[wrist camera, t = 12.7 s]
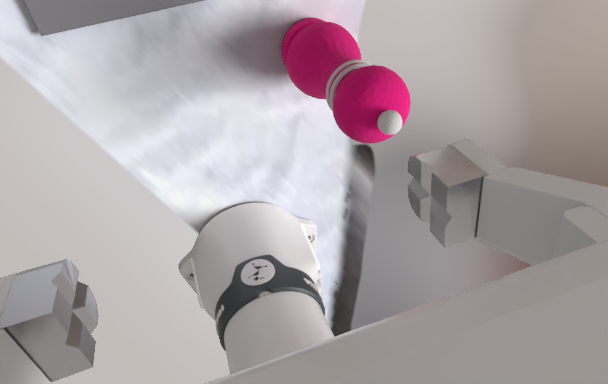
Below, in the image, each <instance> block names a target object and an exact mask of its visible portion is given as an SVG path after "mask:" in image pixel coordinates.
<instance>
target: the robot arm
mask: <svg viewBox="0 0 608 384" xmlns="http://www.w3.org/2000/svg"><path fill="white" fill-rule="evenodd" d="M408 172H409V173H410V174H411V175H412V176H413V179H412V181H411V182H410V183H409V185H408V196H409V199H410V203H411V207H412V209H413V210H414V212H415V214H416V215H417V216H418V218H419V219H420V220H422V221H425V222H428V223H430V232H431V233H432V234H433V235H434V236H435V237H436V239H437V240H438V241H439V242H440V243H441V244H442V246H443V247H444V248H445V247H448V246H452V245H455V244H458V243H461V242H465V241H468V240H471V239H474V238H476V240H478V241H481V242H483V243H485V244H487V245H489V246H492V247H494V248H496V249H498V250H500V251H502V252H505V253H507V254H509V255H511V256H513V257H516V258H518V259H520V260H522V261H524V262H526V263H529V264H531V265H533V266H531V267H528V268H525V269H523V270H520V271H517V272H514V273H512V274H509V275H506V276H503V277H501V278H498V279H495V280H492V281H490V282H487V283H484V284H481V285H478V286H476V287H473V288H470V289H467V290H465V291H462V292H459V293H456V294H453V295H451V296H448V297H445V298H442V299H439V300H437V301H434V302H431V303H428V304H426V305H423V306H420V307H417V308H415V309H411V310H409V311H406V312H403V313H400V314H397V315H395V316H392V317H389V318H386V319H383V320H381V321H378V322H375V323H372V324H369V325H366V326H364V327H361V328H358V329H355V330H353V331H350V332H347V333H344V334H341V335H339V336H336V337H334V335H333V333H332V331H331V329H330V327H329V325H328V323H327V321H326V319H325V308H324V305H323V302H322V298H321V295H322V286H321V283H320V281H319V280H320V279H321V272H320V270H319V269H320V266H319V262H318V260H317V258H316V255H315V251H316V239H317V228H316V225H315V223H314V222H313V221H310V220H307V219H302V218H297V217H295V216H293V215H292V214H290V213H289V212H288V211H286V210H285V209H283V208H281V207H278V206H276V205H272V204H268V203H247V204H241V205H238V206H235V207H232V208H229V209H227V210H225V211H223V212H221V213H220V214H218V215H217V216H215V217H214V218H213V219H211V220H210V221H209V222H208V223H207V224H206V225H205V226H204V228H203V229H202V230H201V232H200V233H199V235H198V237H197V240H196V242H195V245H194V247H193V249H192V250H191V252H190V253H189V254H187V255H186V256H185V257H184V259H182V261H181V262H180V264H179V269H180V273H181V275H182V276H183V277H184V278H185V280H186V281H187V282H188V283H189V285H190V286H191V287H192V288H193V290H194V291H195V292H196V293H197V295H198V299H199V303H200V306H201V308H205V310H206V311H207V313H208V314H209V315H210V316H211V317H212V318H213V319H214V320H215V321H216V330H217V334H218V336H219V339H220V343H221V345H222V347H223V349H224V350H225V351H226V354H227V359H228V365H229V370H230V375H228V376H225V377H222V378H219V379H216V380H213V381H211V382H208V383H205V384H608V187H603V186H599V185H594V184H590V183H585V182H581V181H576V180H571V179H567V178H562V177H558V176H553V175H549V174H544V173H540V172H534V171H531V170H525V169H521V168H517V167H513V168H510V169H509V168H507V167H506V166H505V165H503V164H502V163H501V162H499V161H498V160H496V159H495V158H494V157H492V156H491V155H490V154H488V153H487V152H486V151H484V150H483V149H482V148H480V147H479V146H478V145H476V144H475V143H474V142H472V141H471V140H468V139H463V140H460V141H457V142H454V143H451V144H448V145H446V146H444V147H440V148H437V149H433V150H431V151H427V152H424V153H421V154H418V155H414V156H411V157H410V158H409V161H408ZM192 273H193V274H192ZM78 274H79V271H78V270H77V269H76V267H75V266H74V264H73V263H72V261H69V260H62V261H59V262H55V263H52V264H48V265H44V266H41V267H37V268H33V269H30V270H26V271H23V272H20V273H16V274H13V275H9V276H6V277H3V278H0V384H52V383H51V382H53V381H56V380H59V379H62V378H64V377H67V376H70V375H72V374H75V373H78V372H81V371H83V370H86V369H89V368H91V367H93V361H94V352H95V343H96V342H95V340H94V338H93V337H92V335H91V333H92V332H93V330H94V329H95V328H96V326H97V323H98V311H97V304H96V301H95V298H94V296H93V293H92V292H91V290H90V288H89V287H88V286H87V285H85V284H83V283H80V282H78V281H77V280H78Z"/></svg>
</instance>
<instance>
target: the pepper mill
mask: <svg viewBox="0 0 608 384" xmlns="http://www.w3.org/2000/svg"><path fill="white" fill-rule="evenodd" d="M282 58H283V61H284V64H285V65H286V67H287V70H288V73H289V76H290V78H291V80H292V82H293V83H294V84H295V86H296V87H297V88H299V89H300V90H301V91H302V92H304V93H305V94H307V95H309V96H311V97H315V98H318V99H327V103H328V105H329V107H330V108H331V110H332V111H333V114H334V118H335V120H336V123H337V125H338V126H339V128H340V129H341V130H342V132H343V133H345V134H346V135H347V136H349V137H350V138H351V139H353V140H356V141H359V142H362V143H378V142H381V141H384V140H386V139H388V138H390V137H392V136H393V135H394V134H396V133H397V132H398V131H399V130H400V128H401V127H402V126H403V124H404V123H405V121H406V119H407V117H408V113H409V110H410V95H409V92H408V89H407V87H406V84H405V83H404V82H403V80H402V79H401V78H400V77H399V76H398V75H397V74H396V73H395V72H393V71H391V70H390V69H388V68H386V67H383V66H375V65H373V64H371V63H370V62H367V61H365V60H361V54H360V50H359V48H358V45H357V43H356V41H355V39H354V38H353V37H352V36H351V34H350V33H349V32H348V31H347V30H345V29H344V28H343V27H341V26H340V25H338V24H335V23H331V22H325V21H323V20H320V19H317V18H308V19H303V20H301V21H299V22H297V23H296V24H294V25H293V26H292V27H291V28H290V29H289V30H288V32H287V33H286V35H285V37H284V39H283V43H282Z"/></svg>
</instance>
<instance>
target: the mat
mask: <svg viewBox="0 0 608 384" xmlns="http://www.w3.org/2000/svg"><path fill="white" fill-rule="evenodd" d="M198 1H203V0H24V2H25V4H26V6H27V8H28V10H29V12H30V14H31V16H32V18H33V20H34V22H35V24H36V26H37V28H38V30H39V32H40V34H41V36H44V35H49V34H53V33H58V32H62V31H67V30H71V29H76V28H80V27H85V26H90V25H94V24H99V23H103V22H108V21H112V20H117V19H121V18H126V17H130V16H135V15H139V14H144V13H149V12H153V11H158V10H162V9H167V8H171V7H176V6H180V5H185V4H189V3H194V2H198Z"/></svg>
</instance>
